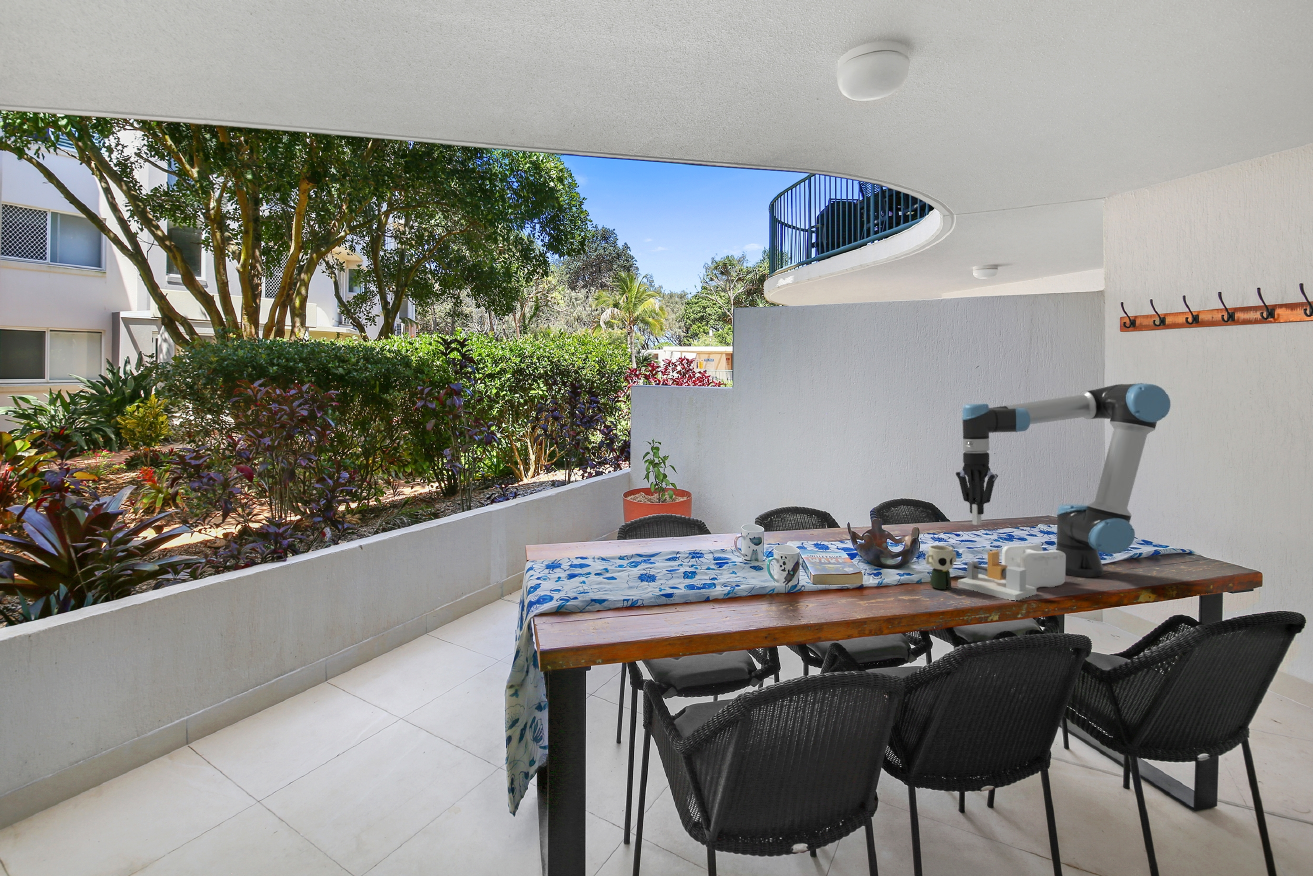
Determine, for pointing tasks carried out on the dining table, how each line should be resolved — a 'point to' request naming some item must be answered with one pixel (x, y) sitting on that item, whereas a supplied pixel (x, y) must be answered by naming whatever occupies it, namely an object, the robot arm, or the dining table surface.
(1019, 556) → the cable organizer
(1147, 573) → the dining table surface
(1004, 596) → the slider rail fixture
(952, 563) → the character mug
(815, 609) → the dining table surface
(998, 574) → the sleeve
